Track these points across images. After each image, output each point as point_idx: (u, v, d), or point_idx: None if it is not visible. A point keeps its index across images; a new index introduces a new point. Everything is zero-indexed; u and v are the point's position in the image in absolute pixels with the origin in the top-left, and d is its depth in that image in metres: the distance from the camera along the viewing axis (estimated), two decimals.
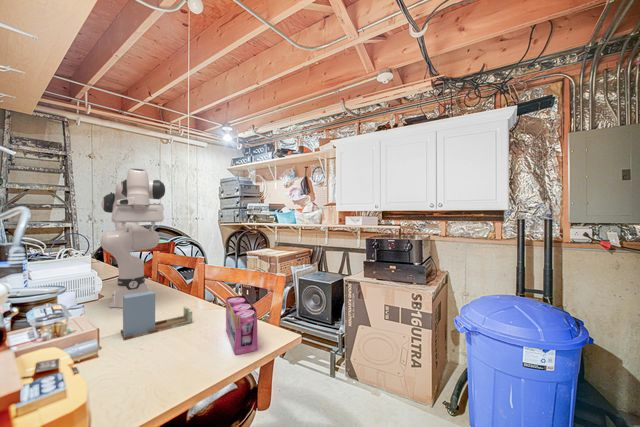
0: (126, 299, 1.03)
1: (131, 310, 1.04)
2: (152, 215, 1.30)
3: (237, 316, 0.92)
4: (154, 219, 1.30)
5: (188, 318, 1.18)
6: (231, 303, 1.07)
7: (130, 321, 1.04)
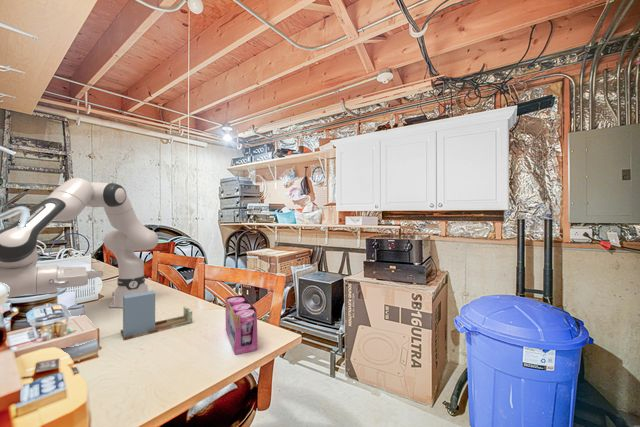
0: (126, 299, 1.03)
1: (131, 310, 1.04)
2: None
3: (237, 316, 0.92)
4: None
5: (188, 318, 1.18)
6: (231, 303, 1.07)
7: (130, 321, 1.04)
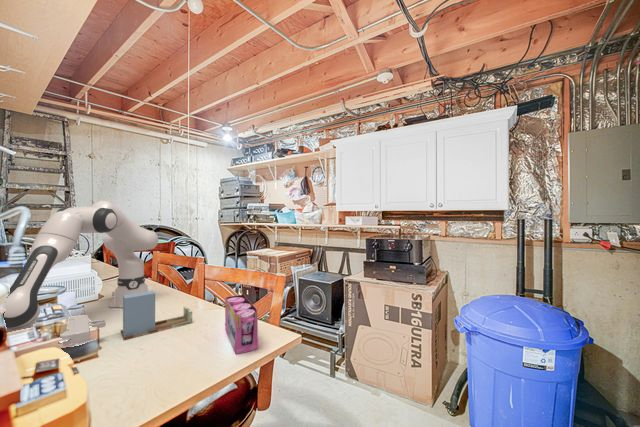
0: (126, 299, 1.03)
1: (131, 310, 1.04)
2: None
3: (238, 315, 0.92)
4: None
5: (188, 318, 1.18)
6: (231, 303, 1.07)
7: (130, 321, 1.04)
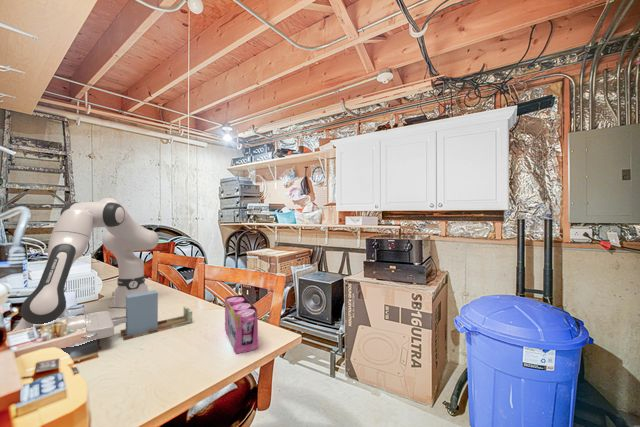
0: (129, 298, 1.04)
1: (134, 310, 1.05)
2: None
3: (238, 315, 0.93)
4: None
5: (188, 318, 1.18)
6: (230, 303, 1.07)
7: (133, 320, 1.05)
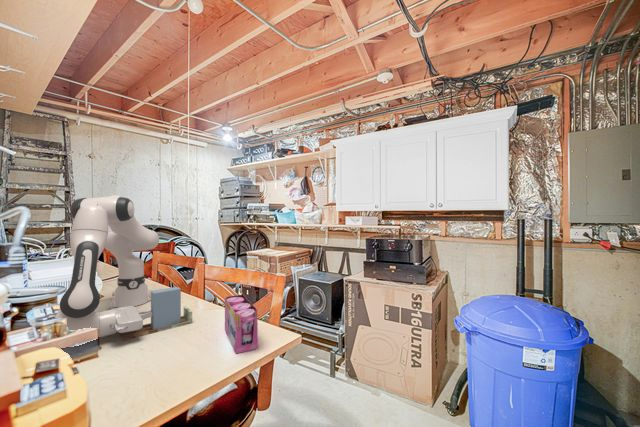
0: (155, 294, 1.10)
1: (159, 305, 1.11)
2: None
3: (238, 315, 0.93)
4: None
5: (188, 318, 1.18)
6: (230, 302, 1.07)
7: (159, 315, 1.10)
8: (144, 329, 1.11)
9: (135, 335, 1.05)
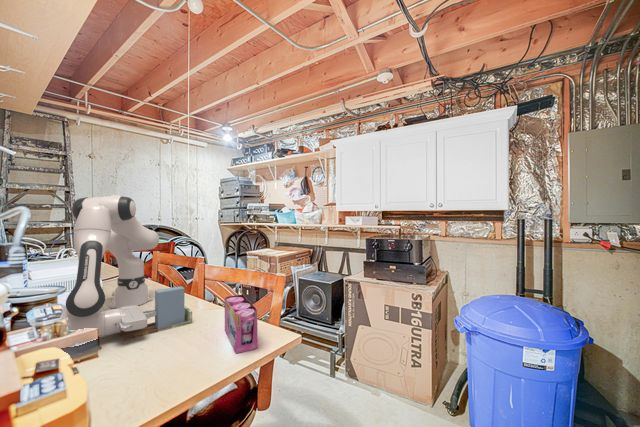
0: (159, 293, 1.11)
1: (164, 304, 1.12)
2: None
3: (238, 315, 0.93)
4: None
5: (188, 318, 1.18)
6: (230, 302, 1.08)
7: (163, 314, 1.11)
8: (144, 329, 1.11)
9: (135, 335, 1.05)
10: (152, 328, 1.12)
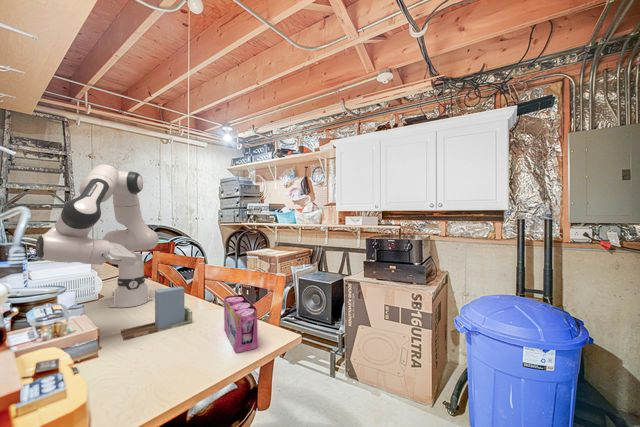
0: (159, 293, 1.11)
1: (164, 304, 1.12)
2: None
3: (238, 315, 0.93)
4: None
5: (188, 318, 1.18)
6: (230, 302, 1.08)
7: (163, 314, 1.11)
8: (144, 329, 1.11)
9: (135, 335, 1.05)
10: (152, 328, 1.12)
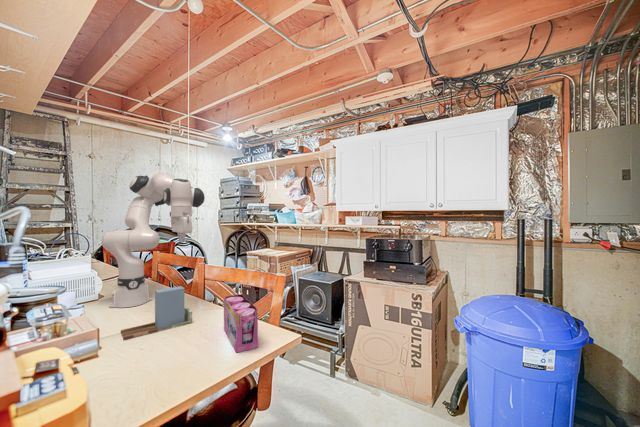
0: (159, 293, 1.11)
1: (164, 304, 1.12)
2: (180, 226, 1.24)
3: (238, 314, 0.93)
4: (181, 231, 1.24)
5: (188, 318, 1.18)
6: (230, 302, 1.08)
7: (163, 314, 1.11)
8: (144, 329, 1.11)
9: (135, 335, 1.05)
10: (152, 328, 1.12)
